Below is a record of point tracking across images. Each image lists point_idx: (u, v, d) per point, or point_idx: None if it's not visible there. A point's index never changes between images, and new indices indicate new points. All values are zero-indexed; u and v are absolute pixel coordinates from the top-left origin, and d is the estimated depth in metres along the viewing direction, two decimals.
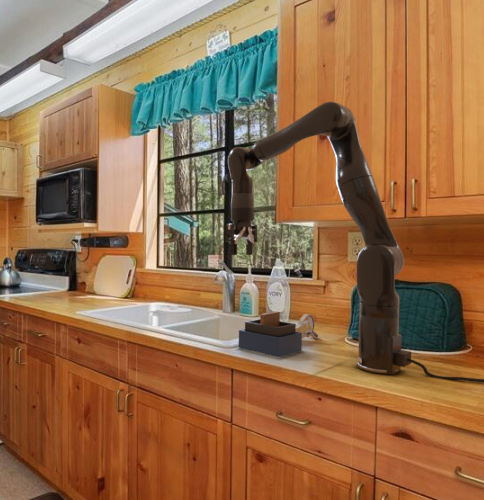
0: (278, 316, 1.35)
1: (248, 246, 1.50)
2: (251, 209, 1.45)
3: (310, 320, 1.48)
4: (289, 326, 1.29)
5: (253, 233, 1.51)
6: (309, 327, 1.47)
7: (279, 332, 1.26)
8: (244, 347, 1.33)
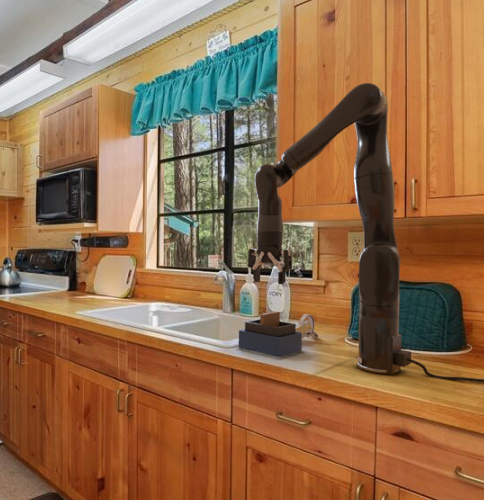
0: (278, 316, 1.35)
1: None
2: (262, 233, 1.31)
3: (310, 320, 1.48)
4: (289, 326, 1.29)
5: None
6: (309, 327, 1.47)
7: (279, 332, 1.26)
8: (244, 347, 1.33)
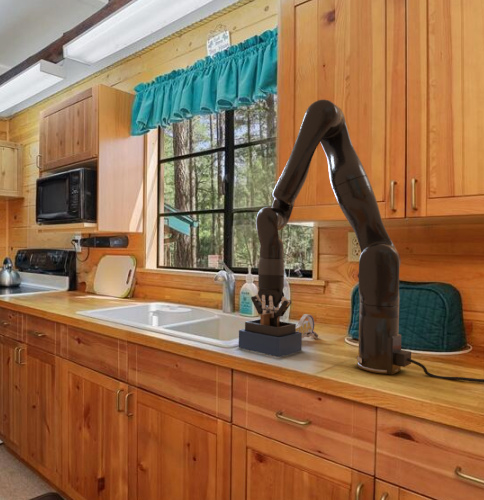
0: None
1: None
2: (264, 276, 1.30)
3: (310, 320, 1.48)
4: (289, 326, 1.29)
5: None
6: (309, 327, 1.47)
7: (279, 332, 1.26)
8: (244, 347, 1.33)
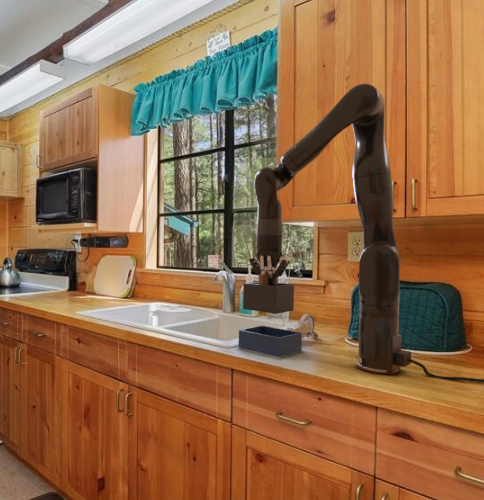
0: None
1: None
2: (262, 236, 1.31)
3: (310, 320, 1.48)
4: (287, 286, 1.30)
5: None
6: (309, 327, 1.47)
7: (277, 291, 1.26)
8: (244, 347, 1.33)
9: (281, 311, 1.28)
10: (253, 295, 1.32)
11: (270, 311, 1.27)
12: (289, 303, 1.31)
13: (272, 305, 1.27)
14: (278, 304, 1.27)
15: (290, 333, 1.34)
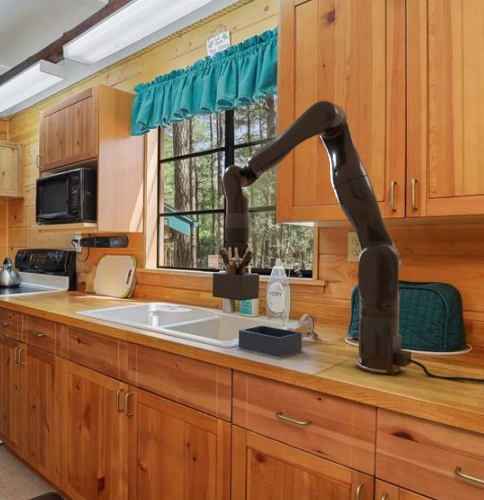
0: (244, 268, 1.45)
1: None
2: (230, 229, 1.41)
3: (310, 320, 1.48)
4: (252, 275, 1.40)
5: None
6: (309, 327, 1.47)
7: (242, 279, 1.37)
8: (244, 347, 1.33)
9: (246, 298, 1.38)
10: (221, 284, 1.42)
11: (236, 298, 1.38)
12: (254, 291, 1.41)
13: (238, 293, 1.37)
14: (243, 292, 1.37)
15: (290, 333, 1.34)
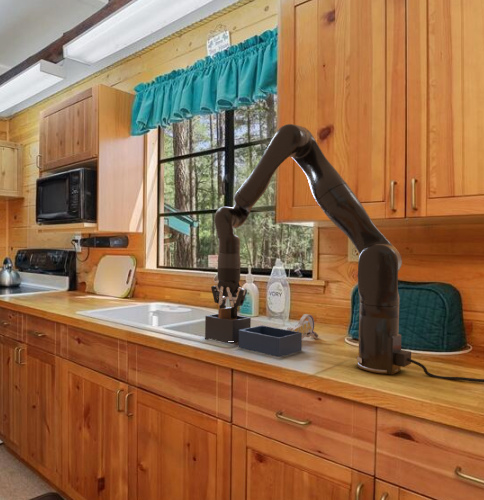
0: None
1: None
2: (221, 269, 1.44)
3: (310, 320, 1.48)
4: (244, 319, 1.43)
5: None
6: (309, 327, 1.47)
7: (234, 325, 1.39)
8: (244, 347, 1.33)
9: None
10: (213, 328, 1.45)
11: None
12: None
13: (229, 338, 1.40)
14: (234, 337, 1.40)
15: (290, 333, 1.34)
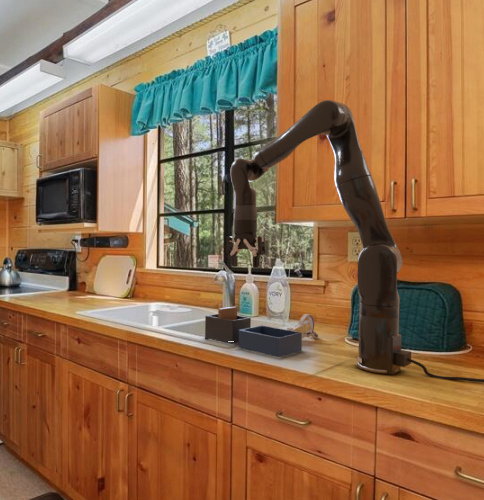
0: (235, 310, 1.48)
1: None
2: (238, 221, 1.44)
3: (310, 320, 1.48)
4: (244, 319, 1.43)
5: None
6: (309, 327, 1.47)
7: (234, 325, 1.39)
8: (244, 347, 1.33)
9: None
10: (213, 328, 1.45)
11: None
12: None
13: (229, 338, 1.40)
14: (234, 337, 1.40)
15: (290, 333, 1.34)
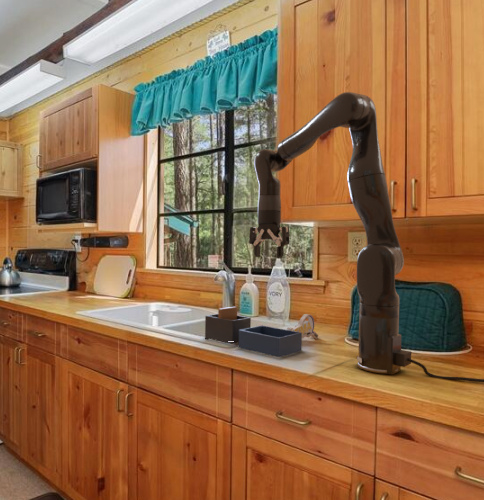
0: (235, 310, 1.48)
1: None
2: (262, 211, 1.44)
3: (310, 320, 1.48)
4: (244, 319, 1.43)
5: None
6: (309, 327, 1.47)
7: (234, 325, 1.39)
8: (244, 347, 1.33)
9: None
10: (213, 328, 1.45)
11: None
12: None
13: (229, 338, 1.40)
14: (234, 337, 1.40)
15: (290, 333, 1.34)
